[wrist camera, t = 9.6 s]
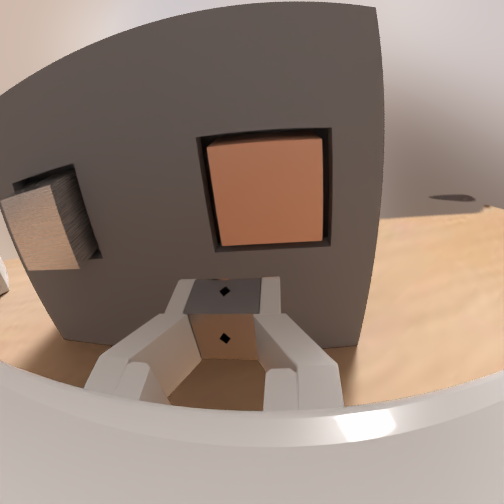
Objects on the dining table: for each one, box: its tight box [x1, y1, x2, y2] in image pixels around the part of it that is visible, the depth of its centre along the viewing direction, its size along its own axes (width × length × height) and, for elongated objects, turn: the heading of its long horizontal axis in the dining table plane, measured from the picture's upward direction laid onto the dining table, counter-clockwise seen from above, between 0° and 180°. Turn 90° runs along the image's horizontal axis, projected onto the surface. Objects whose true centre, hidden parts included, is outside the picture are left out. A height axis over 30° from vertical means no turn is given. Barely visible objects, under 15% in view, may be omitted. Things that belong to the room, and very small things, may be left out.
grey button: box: [1, 169, 99, 271], centre depth 14 cm, size 3×5×5 cm, turn 87°
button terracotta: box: [207, 130, 323, 246], centre depth 14 cm, size 3×5×5 cm, turn 87°
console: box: [0, 2, 384, 348], centre depth 17 cm, size 6×24×20 cm, turn 87°
